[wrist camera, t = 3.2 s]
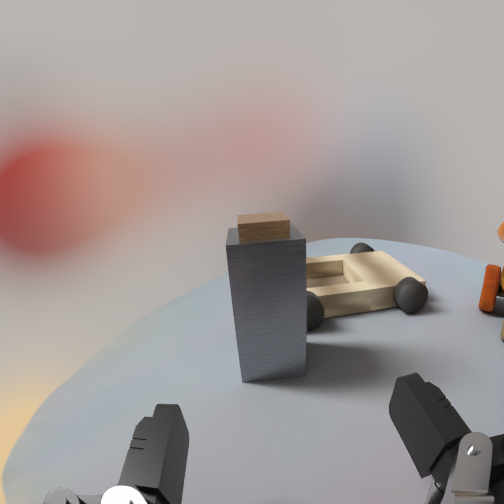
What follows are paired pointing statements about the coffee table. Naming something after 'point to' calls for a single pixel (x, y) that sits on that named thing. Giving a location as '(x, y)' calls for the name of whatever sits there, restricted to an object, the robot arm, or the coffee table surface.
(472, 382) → the coffee table surface
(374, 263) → the chassis
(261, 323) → the block
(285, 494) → the coffee table surface
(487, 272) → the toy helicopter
